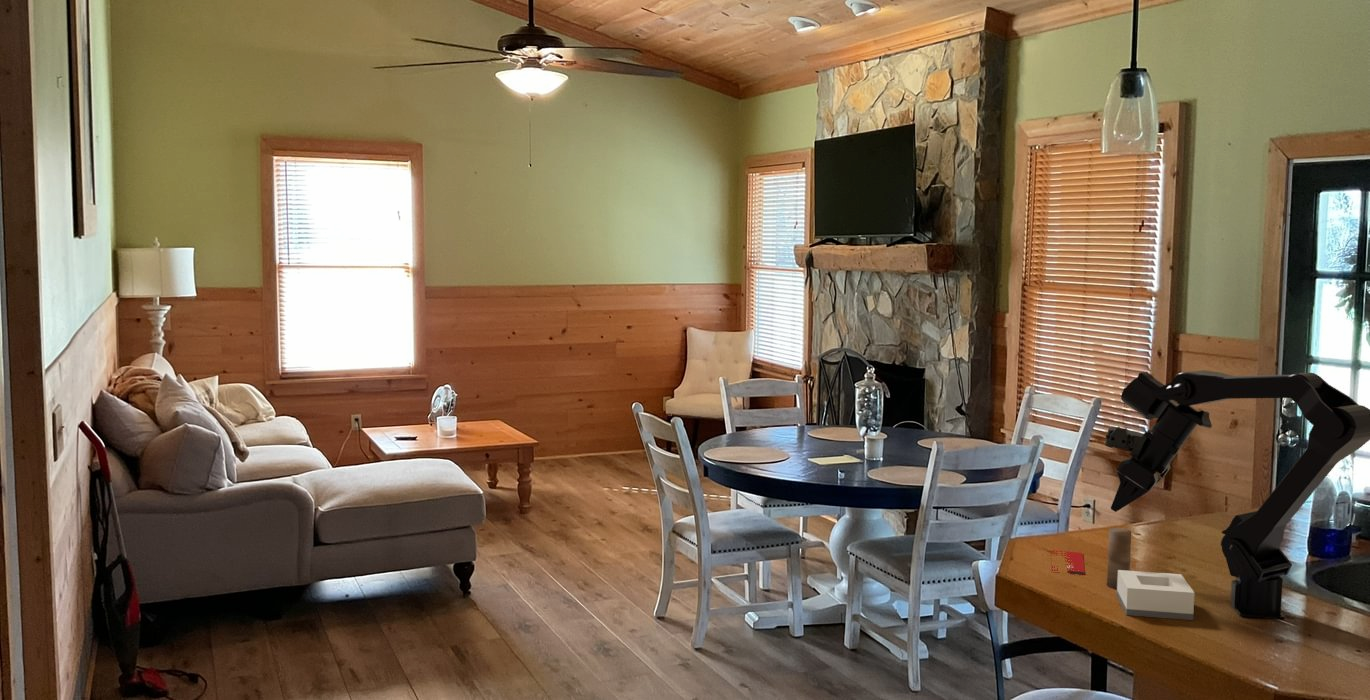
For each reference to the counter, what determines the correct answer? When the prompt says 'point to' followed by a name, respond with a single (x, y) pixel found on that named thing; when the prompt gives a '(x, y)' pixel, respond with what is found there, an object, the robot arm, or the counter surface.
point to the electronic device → (1076, 560)
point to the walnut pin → (1118, 554)
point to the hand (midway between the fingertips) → (1117, 505)
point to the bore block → (1155, 594)
